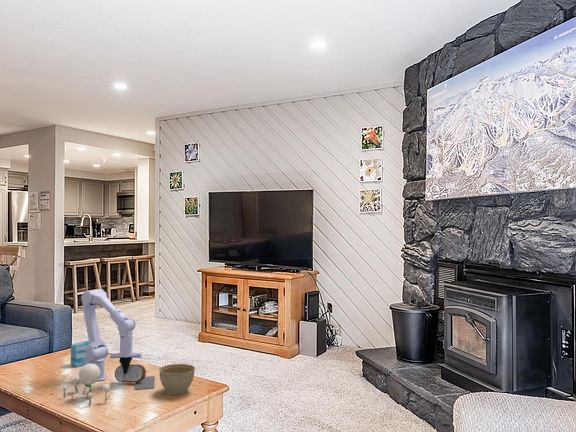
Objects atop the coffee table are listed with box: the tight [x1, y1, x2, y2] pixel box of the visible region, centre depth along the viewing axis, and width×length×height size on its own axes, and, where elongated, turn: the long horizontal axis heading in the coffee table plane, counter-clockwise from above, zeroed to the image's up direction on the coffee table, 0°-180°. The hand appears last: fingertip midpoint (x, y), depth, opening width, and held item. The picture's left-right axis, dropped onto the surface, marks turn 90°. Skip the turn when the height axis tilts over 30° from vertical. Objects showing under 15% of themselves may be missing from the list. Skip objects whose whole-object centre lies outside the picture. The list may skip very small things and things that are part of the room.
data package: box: [70, 340, 97, 368], centre depth 264 cm, size 12×4×12 cm, turn 143°
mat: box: [134, 375, 156, 391], centre depth 235 cm, size 9×18×1 cm, turn 15°
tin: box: [114, 364, 147, 383], centre depth 234 cm, size 15×3×8 cm, turn 84°
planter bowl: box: [158, 363, 196, 396], centre depth 223 cm, size 16×16×11 cm
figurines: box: [62, 364, 111, 407], centre depth 213 cm, size 25×12×15 cm, turn 57°
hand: (125, 373), depth 232 cm, fingers closed
